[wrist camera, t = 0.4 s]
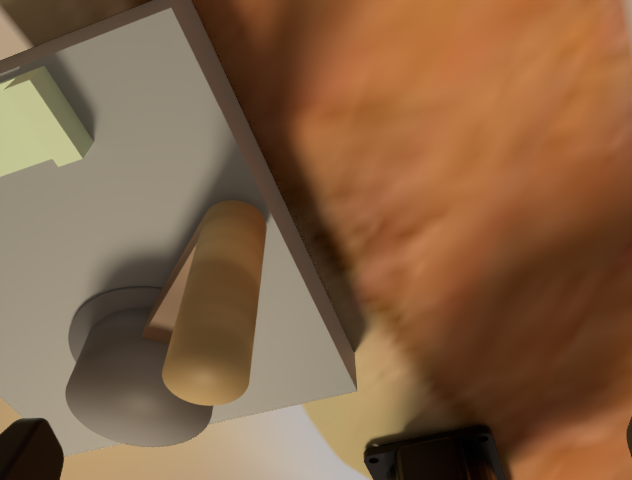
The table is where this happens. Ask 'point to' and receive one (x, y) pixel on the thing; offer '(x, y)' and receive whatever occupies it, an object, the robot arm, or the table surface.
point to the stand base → (138, 211)
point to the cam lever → (178, 340)
